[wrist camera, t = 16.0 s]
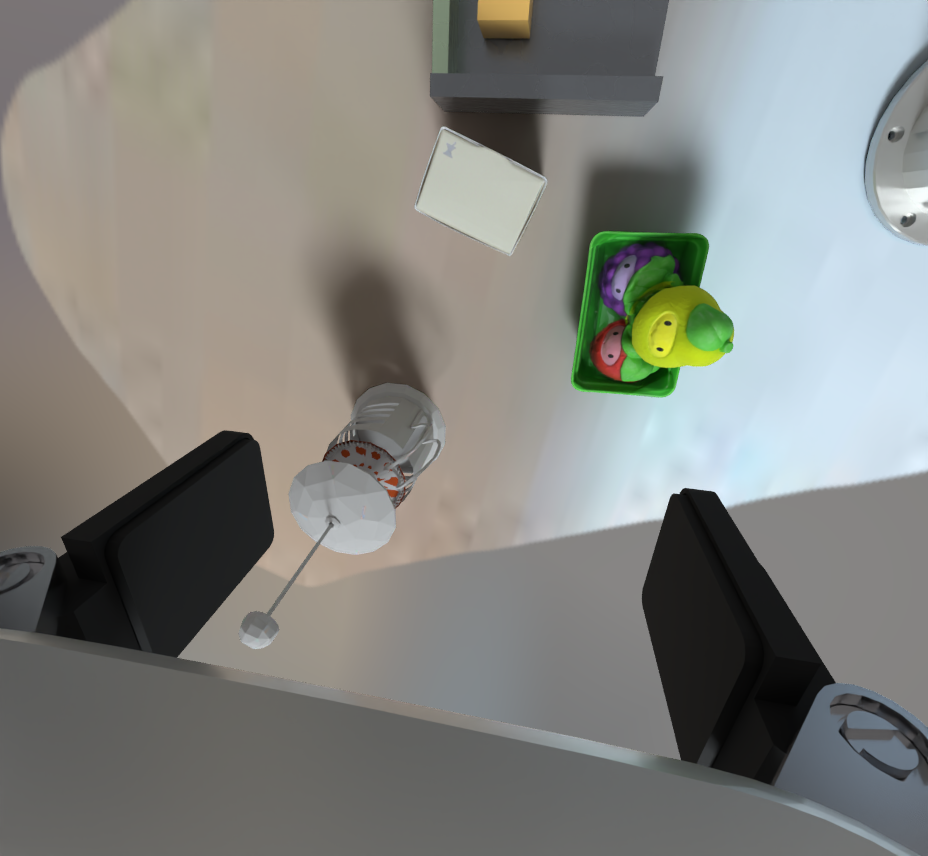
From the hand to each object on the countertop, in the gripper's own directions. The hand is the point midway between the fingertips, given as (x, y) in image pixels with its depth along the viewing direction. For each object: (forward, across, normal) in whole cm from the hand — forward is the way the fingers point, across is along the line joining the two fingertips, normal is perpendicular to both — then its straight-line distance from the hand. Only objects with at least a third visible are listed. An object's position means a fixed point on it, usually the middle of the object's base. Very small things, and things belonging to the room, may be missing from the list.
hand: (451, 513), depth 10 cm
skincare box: (+31, +2, -7) cm, 31 cm away
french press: (+31, +10, +13) cm, 35 cm away
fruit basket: (+31, -9, 0) cm, 32 cm away
